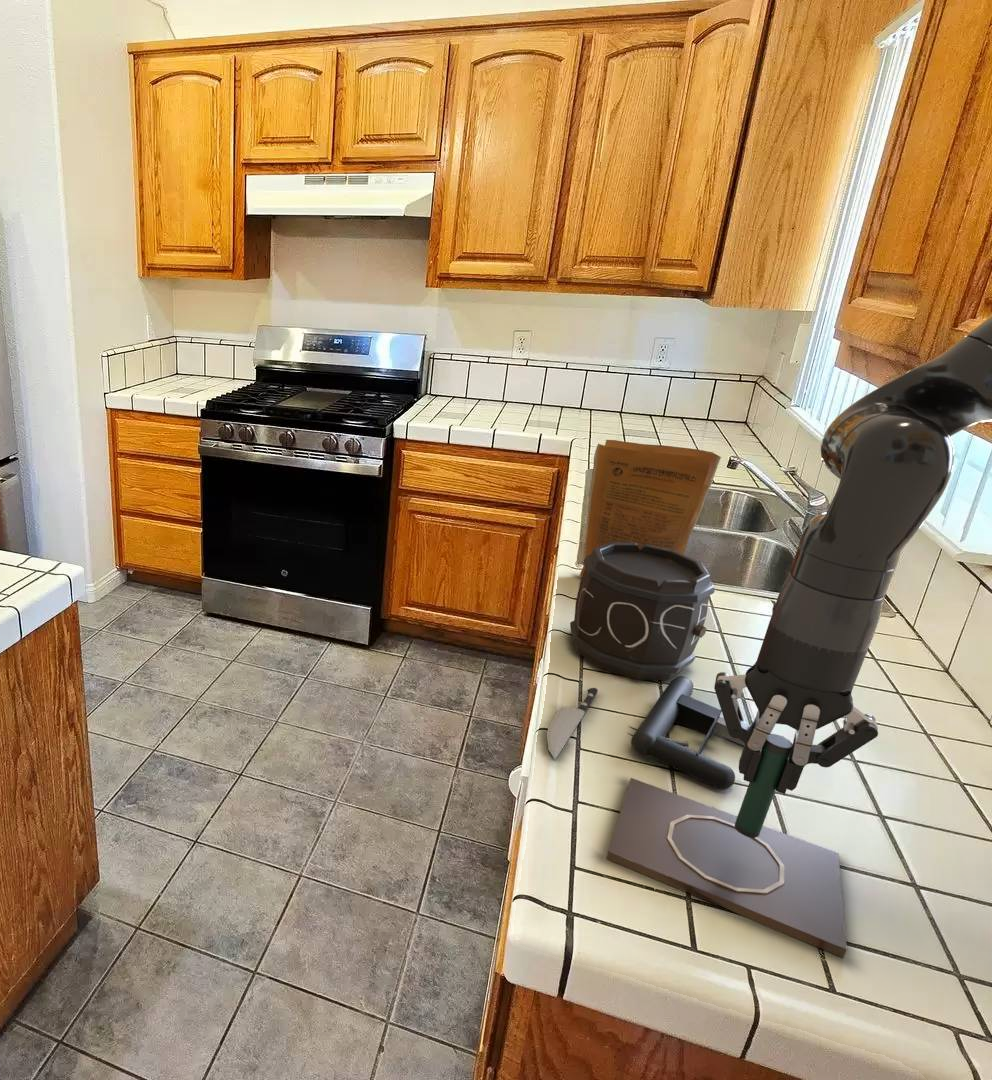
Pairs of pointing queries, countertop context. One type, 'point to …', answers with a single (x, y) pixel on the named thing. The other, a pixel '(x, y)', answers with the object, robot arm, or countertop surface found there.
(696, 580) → the coffee canister
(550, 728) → the chef's knife
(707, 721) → the door handle
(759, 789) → the marker
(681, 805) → the drawing board
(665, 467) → the pancake mix bag
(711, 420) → the countertop surface
